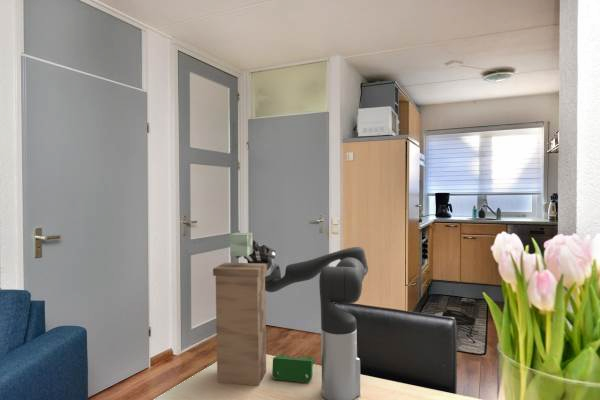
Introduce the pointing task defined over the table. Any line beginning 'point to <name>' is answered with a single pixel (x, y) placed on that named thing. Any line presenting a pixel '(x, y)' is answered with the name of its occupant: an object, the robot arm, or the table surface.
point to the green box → (292, 368)
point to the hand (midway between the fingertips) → (247, 243)
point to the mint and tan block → (241, 244)
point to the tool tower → (240, 322)
